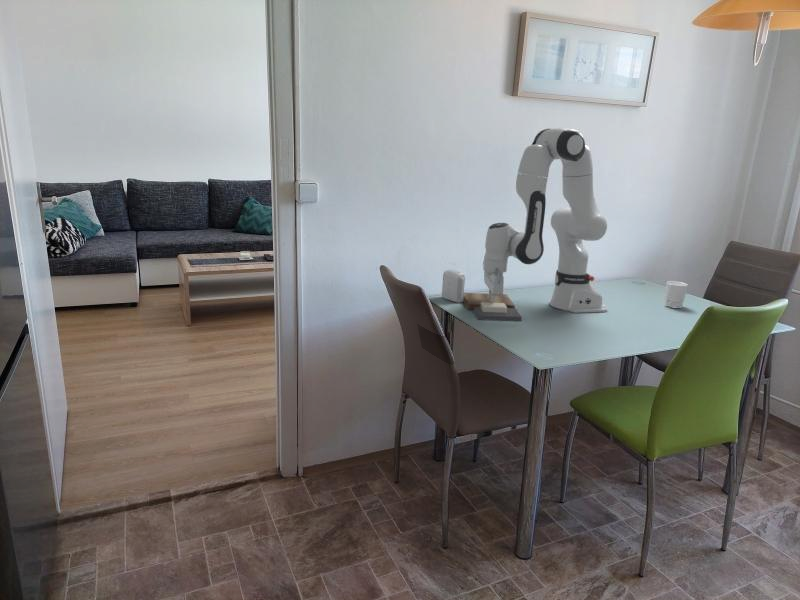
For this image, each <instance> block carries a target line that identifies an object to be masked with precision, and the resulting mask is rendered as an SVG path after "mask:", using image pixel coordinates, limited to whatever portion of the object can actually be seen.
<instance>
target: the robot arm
mask: <svg viewBox="0 0 800 600" xmlns="http://www.w3.org/2000/svg"><path fill="white" fill-rule="evenodd" d="M591 152H592V151H591V149H590V148H589V146H588V145H586V141H585V137H584V136H583V134H582V133H581V132H580V131H579V130H577V129H573V128H564V127H557V128H546V129H543V130H540V131H539V132H538V133H537V134H536V135H535V137H534V139H533V141H532V144H531V145H527V147H526V148H525V150H524V152H523V154H522V157H521V159H520V162H519V165H518V170H517V175H516V181H515V191H516V194H517V195H518V196H519V198H520V199H521V200H522V202H523V203H524V206H525V208H526V217H525V226H524V232H521V231H520V230H517V229H515V228H514V227H512V226H510V224H508V223H506V222H497V223H493V224H491V225H490V226H488V228H487V231H486V237H485V245H484V248H485V254H484V257H483V263H482V267H483V273H484V274H483V281H484V284H485V285H486V287H487V289H488V294H489V300H490V301H491V302H495V298H496V296H502V294H504V281H505V280H504V274H505V273H507V271H508V270H507V269H508V259H509V257H513V258H515V259H517V261H519V262H521V263H522V264H524V265H533V264H536V263H538V261H540V260H541V258H542V256H543V255H544V251H545V248H544V241H543V232H544V231H543V230H544V224H545V223H544V222H545V215H546V203H547V202H546V191H547V184H548V178H549V174H550V168H551V164H552V163H553V162H554V160H560V162H561V163H562V171H561V172H562V195H563V198H564V199H565V201H566V202H567V203H568V205H569V207H563V208H562V207H561V208H557V209H556V210H555V211H554V212H553V213H552V215H551V217H550V225H551V228H552V229H553V231H554V233H555V236H556V238H557V244H558V250H559V253H558V265H557V269H556V272H555V276H554V289H553V292H552V293H553V294H552V295H551V299H550V301H549V305H550V306H551V307H553V308H555V309H559V310H562V311H563V310H564V311H567V312H571V313H573V314H574V313H602V312H608V307H607V305H606V304H605V303H603V296H602V294H601V292H600V291H599V290H598V289H597V288H596V287H595V286H594V285H593V284H592V283H591V282H594V281H595V277H594V276H593V275H590V274H589V273H588V272H587V271H588V262H589V253H588V251H587V249H586V248H585V246H584V243H583V241H586V242H587V241H594V242H595V241H599V240H600V239H603V237H604V236H605V234H606V233H607V230H608V222H607V219H606V218H605V217H604V216H603V215H602V213H601V212H600V210H599V207H598V205H597V202H596V199H595V195H594V173H593V172H594V169H593V168H594V167H593V166H594V165H593V159H592V158H593V157H592V153H591Z"/></svg>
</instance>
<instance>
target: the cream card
mask: <svg viewBox="0 0 800 600" xmlns="http://www.w3.org/2000/svg"><path fill="white" fill-rule="evenodd" d="M481 309H482V311H483V312H499V313H507V307H506V305H505V304H504V303H487V302H481Z"/></svg>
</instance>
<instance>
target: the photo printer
mask: <svg viewBox="0 0 800 600" xmlns="http://www.w3.org/2000/svg"><path fill="white" fill-rule="evenodd" d="M465 281H466V279H465V275H464V274H463V273H461V272H460V271H458V270H456V269H446V270H445V271H444V272H443V273H442V285H441V286H442V287H441V297H442V299H446V300H449V301H452V302H455V303H459V304H460V303H463V302H464V300H463V298H464V293H465V284H466V283H465Z"/></svg>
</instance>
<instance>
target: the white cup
mask: <svg viewBox="0 0 800 600" xmlns="http://www.w3.org/2000/svg"><path fill="white" fill-rule="evenodd" d="M688 286H689V285H688V284H687V283H686V282H681V281H677V280H668V281H667V282H666V285H665V292H664V293H665V295H664V303H665V305H666V306H670V307H676V308H680V307H682V308H683V304H684V301H685V297H686V294H687V289H688ZM665 305H664V306H665ZM666 306H665V307H666Z"/></svg>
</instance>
